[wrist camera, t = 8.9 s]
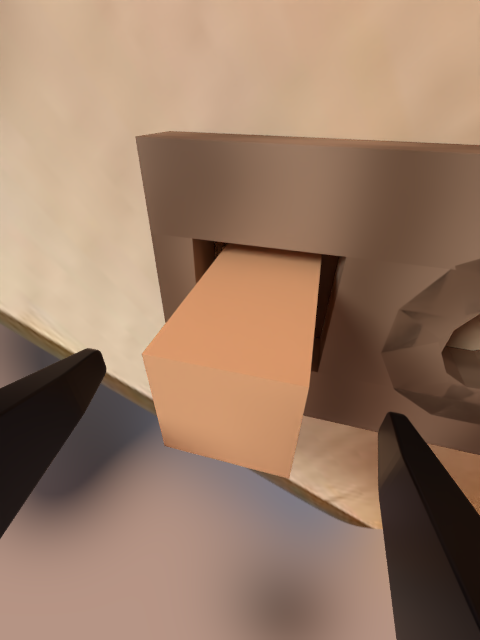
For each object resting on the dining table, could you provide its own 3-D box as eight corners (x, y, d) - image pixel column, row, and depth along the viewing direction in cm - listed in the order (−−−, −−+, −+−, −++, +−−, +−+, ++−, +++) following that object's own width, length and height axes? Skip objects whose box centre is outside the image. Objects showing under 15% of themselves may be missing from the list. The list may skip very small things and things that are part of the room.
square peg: (322, 247, 13) (309, 387, 6) (308, 322, 15) (289, 478, 9) (232, 238, 13) (141, 353, 7) (232, 310, 16) (164, 446, 10)
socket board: (780, 158, 8) (922, 176, 6) (522, 423, 15) (549, 470, 13) (169, 131, 12) (135, 136, 10) (192, 357, 19) (175, 386, 17)
